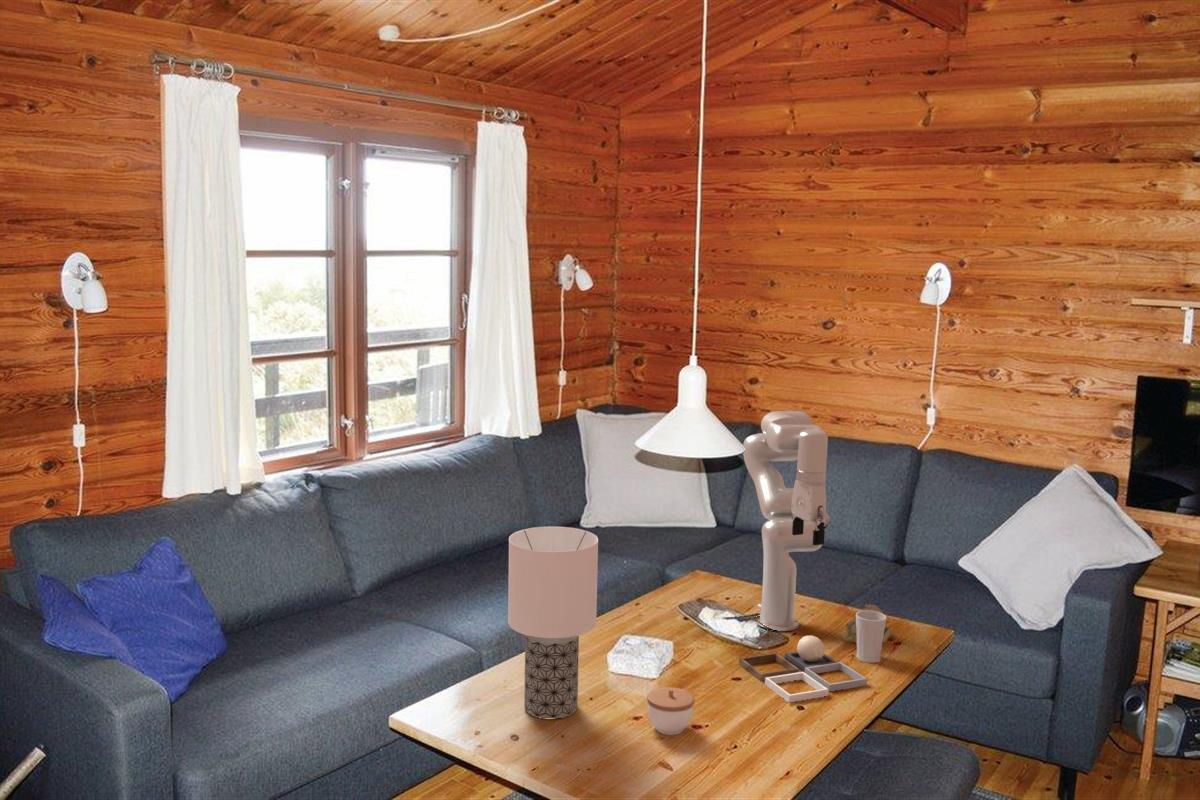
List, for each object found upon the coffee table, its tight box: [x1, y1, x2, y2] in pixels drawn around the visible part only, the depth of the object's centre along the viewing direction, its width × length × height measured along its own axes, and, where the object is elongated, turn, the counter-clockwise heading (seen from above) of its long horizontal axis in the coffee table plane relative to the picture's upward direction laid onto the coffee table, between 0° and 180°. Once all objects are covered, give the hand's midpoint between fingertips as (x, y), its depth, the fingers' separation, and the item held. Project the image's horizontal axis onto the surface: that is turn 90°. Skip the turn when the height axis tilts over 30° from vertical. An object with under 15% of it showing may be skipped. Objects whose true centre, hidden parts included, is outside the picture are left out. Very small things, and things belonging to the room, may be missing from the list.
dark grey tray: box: [783, 650, 839, 672], centre depth 277 cm, size 10×10×2 cm
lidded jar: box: [646, 686, 695, 736], centre depth 237 cm, size 11×11×9 cm
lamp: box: [507, 526, 599, 719], centre depth 244 cm, size 21×21×42 cm
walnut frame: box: [738, 652, 800, 682], centre depth 272 cm, size 11×11×2 cm
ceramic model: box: [841, 603, 892, 644], centre depth 296 cm, size 14×11×10 cm
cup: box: [855, 610, 887, 664], centre depth 280 cm, size 8×8×12 cm
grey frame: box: [804, 661, 868, 692], centre depth 267 cm, size 11×11×2 cm
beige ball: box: [796, 635, 826, 662], centre depth 276 cm, size 7×7×7 cm
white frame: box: [764, 671, 829, 704], centre depth 260 cm, size 11×11×2 cm
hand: (807, 539), depth 278 cm, fingers open, 9 cm apart
